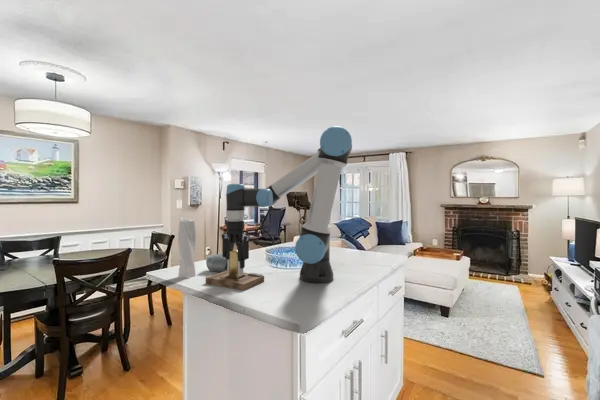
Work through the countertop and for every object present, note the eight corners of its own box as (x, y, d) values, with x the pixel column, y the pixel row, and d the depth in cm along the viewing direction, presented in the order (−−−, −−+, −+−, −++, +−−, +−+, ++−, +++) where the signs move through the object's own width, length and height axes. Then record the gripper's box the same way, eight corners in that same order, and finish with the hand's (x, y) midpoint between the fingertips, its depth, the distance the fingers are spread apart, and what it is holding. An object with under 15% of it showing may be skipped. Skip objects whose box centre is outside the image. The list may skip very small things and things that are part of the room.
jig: (264, 281, 125) (264, 274, 125) (243, 290, 113) (243, 282, 113) (228, 275, 134) (228, 268, 134) (205, 283, 122) (205, 276, 122)
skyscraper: (173, 277, 130) (173, 215, 130) (184, 273, 138) (184, 214, 137) (188, 279, 128) (188, 215, 128) (199, 274, 135) (199, 214, 135)
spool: (239, 262, 146) (230, 247, 142) (231, 275, 137) (222, 259, 134) (218, 266, 150) (208, 251, 147) (209, 279, 142) (199, 264, 139)
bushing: (243, 278, 125) (243, 250, 124) (236, 281, 120) (236, 252, 120) (234, 276, 127) (234, 249, 127) (226, 279, 122) (226, 251, 122)
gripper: (257, 220, 122) (257, 275, 123) (225, 219, 131) (225, 270, 131) (246, 222, 116) (246, 280, 116) (213, 220, 124) (213, 274, 124)
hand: (235, 274), depth 123 cm, fingers closed on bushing, 5 cm apart
